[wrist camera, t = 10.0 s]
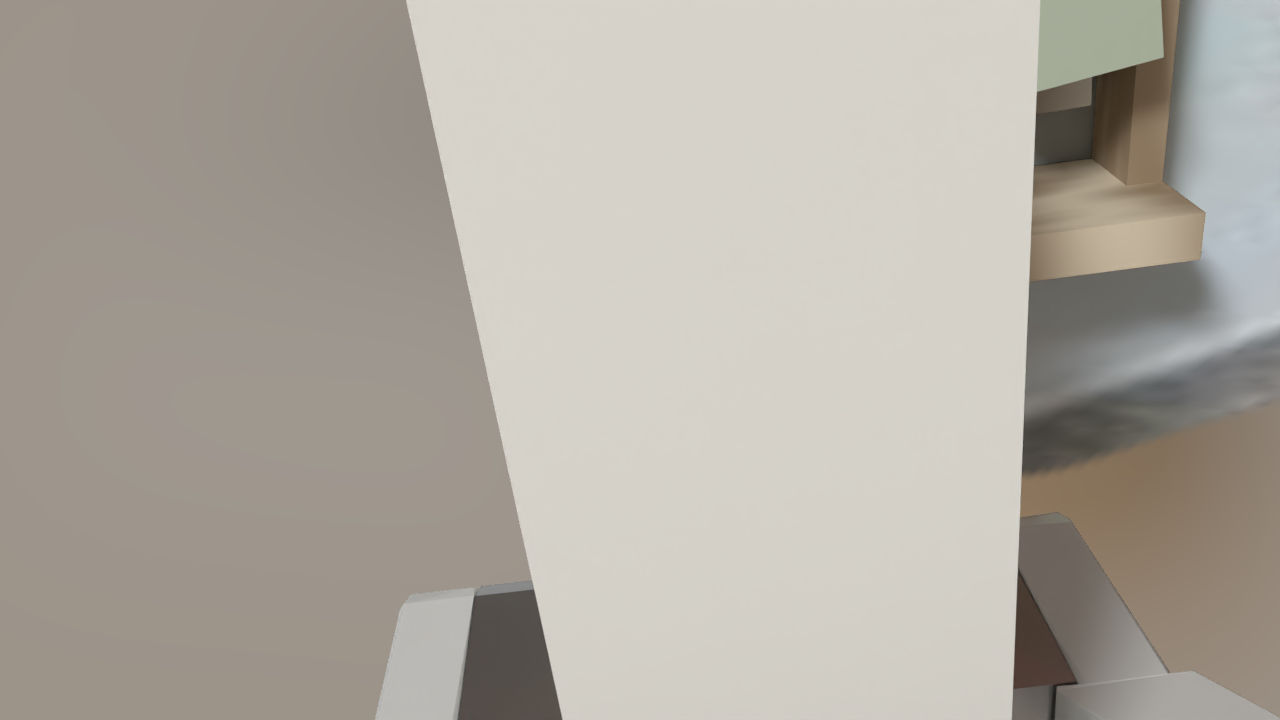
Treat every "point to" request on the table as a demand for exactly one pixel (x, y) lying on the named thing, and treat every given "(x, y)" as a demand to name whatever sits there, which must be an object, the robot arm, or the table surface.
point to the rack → (1117, 182)
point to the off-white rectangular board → (753, 339)
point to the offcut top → (1095, 38)
